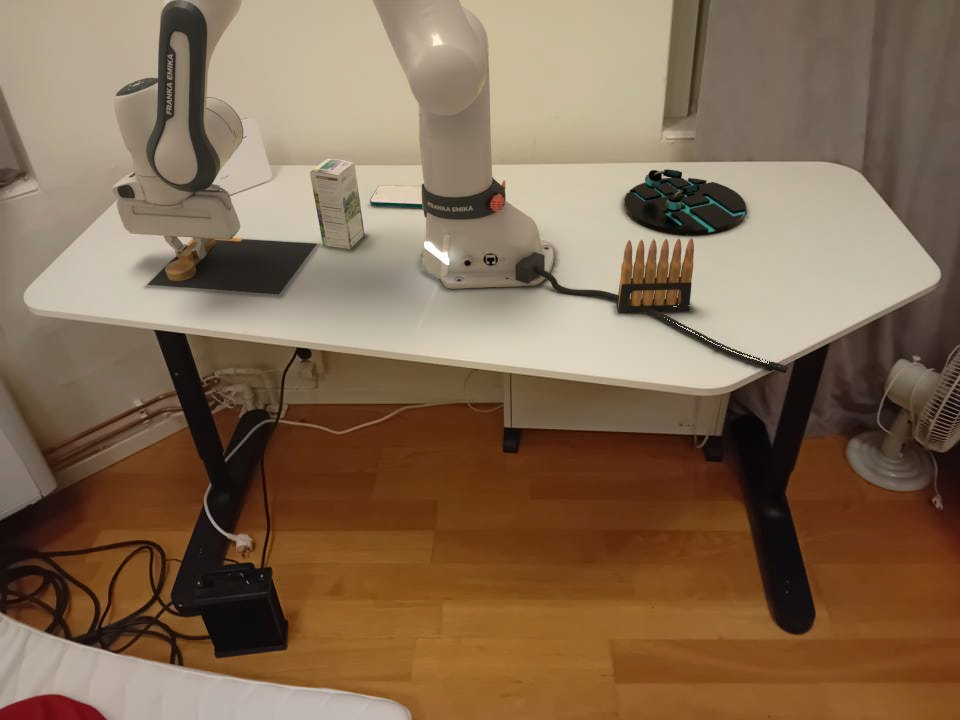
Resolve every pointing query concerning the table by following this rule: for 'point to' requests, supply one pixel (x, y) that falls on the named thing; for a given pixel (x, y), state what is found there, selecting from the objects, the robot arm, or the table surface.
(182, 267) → the orange wooden ladle
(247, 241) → the mat
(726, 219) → the platform
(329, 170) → the syrup box
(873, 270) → the table surface
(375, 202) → the smartphone
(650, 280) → the ammunition clip
